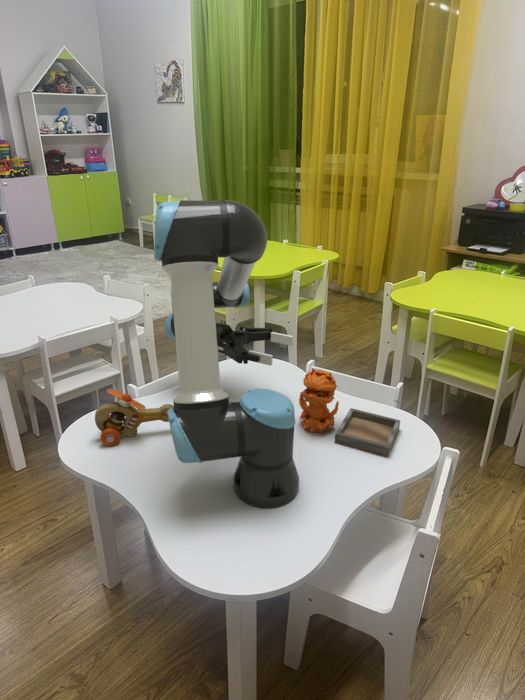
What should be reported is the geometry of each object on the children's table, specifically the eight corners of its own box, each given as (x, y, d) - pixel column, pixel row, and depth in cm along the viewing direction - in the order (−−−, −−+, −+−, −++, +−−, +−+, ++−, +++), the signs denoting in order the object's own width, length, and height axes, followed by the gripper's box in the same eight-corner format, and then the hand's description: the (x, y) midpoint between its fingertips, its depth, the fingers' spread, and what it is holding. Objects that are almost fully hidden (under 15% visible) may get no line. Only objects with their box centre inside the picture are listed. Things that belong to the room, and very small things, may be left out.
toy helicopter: (99, 430, 129) (92, 386, 124) (176, 421, 134) (173, 378, 128) (97, 448, 122) (89, 402, 116) (178, 438, 127) (175, 393, 121)
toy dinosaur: (289, 430, 131) (292, 372, 123) (305, 412, 139) (308, 356, 132) (327, 442, 126) (333, 382, 118) (341, 422, 135) (347, 365, 127)
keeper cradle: (387, 457, 120) (389, 448, 119) (334, 442, 126) (335, 433, 125) (398, 429, 132) (400, 420, 131) (349, 416, 137) (350, 408, 136)
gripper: (235, 332, 149) (299, 345, 140) (191, 364, 128) (262, 382, 120) (235, 309, 145) (300, 321, 137) (189, 339, 125) (262, 356, 117)
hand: (282, 350), depth 129 cm, fingers open, 13 cm apart
